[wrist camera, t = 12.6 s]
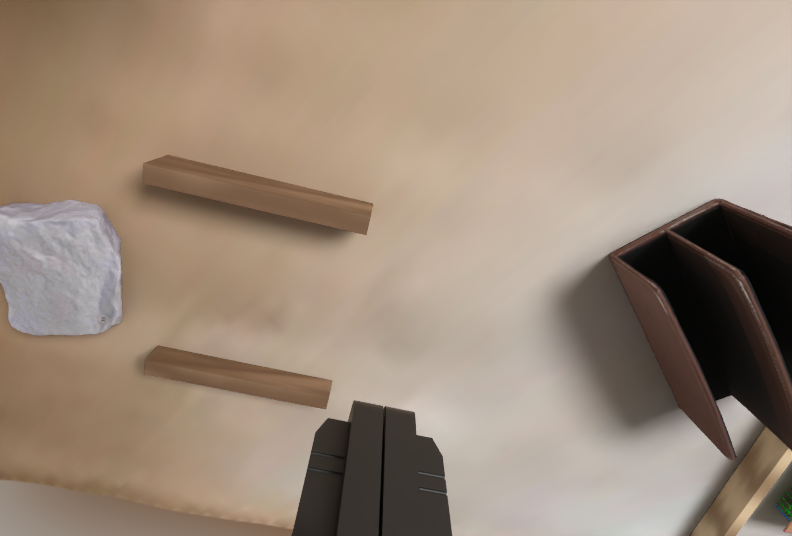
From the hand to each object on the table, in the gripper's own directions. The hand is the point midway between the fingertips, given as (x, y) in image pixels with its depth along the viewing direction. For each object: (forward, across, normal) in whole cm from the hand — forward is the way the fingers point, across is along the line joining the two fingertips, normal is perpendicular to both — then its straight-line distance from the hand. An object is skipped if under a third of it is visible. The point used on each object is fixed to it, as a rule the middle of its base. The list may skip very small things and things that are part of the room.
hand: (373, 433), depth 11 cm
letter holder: (+29, -30, +5) cm, 43 cm away
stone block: (+30, +25, +14) cm, 41 cm away
